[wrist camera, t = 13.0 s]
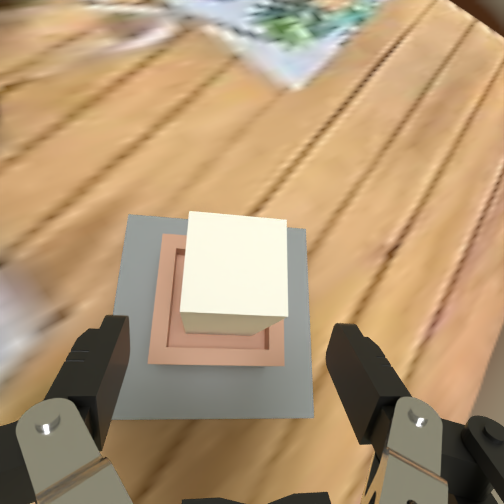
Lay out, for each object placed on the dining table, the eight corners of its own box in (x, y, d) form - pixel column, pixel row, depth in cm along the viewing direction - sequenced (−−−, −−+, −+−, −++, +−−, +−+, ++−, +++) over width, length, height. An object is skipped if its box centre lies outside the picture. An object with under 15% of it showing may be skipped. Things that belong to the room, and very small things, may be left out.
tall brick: (185, 333, 22) (179, 311, 13) (191, 269, 23) (189, 210, 15) (251, 336, 23) (288, 316, 14) (252, 273, 24) (286, 220, 15)
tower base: (100, 417, 24) (67, 435, 18) (131, 220, 29) (113, 180, 23) (308, 415, 26) (344, 431, 20) (301, 233, 32) (328, 201, 25)
